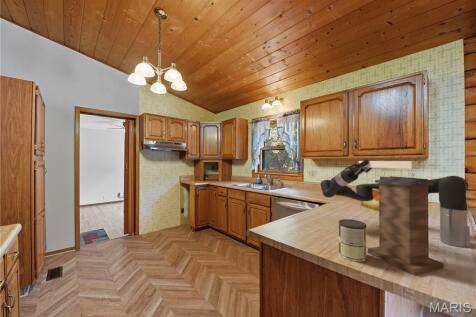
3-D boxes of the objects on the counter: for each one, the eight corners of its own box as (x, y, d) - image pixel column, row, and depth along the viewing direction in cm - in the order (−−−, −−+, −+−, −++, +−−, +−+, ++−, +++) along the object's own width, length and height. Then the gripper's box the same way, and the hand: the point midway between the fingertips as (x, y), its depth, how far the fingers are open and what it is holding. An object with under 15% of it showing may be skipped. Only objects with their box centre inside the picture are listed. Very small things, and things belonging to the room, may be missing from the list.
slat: (358, 167, 101) (358, 160, 101) (364, 167, 102) (364, 161, 102) (411, 169, 78) (411, 161, 78) (418, 169, 79) (418, 161, 79)
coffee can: (334, 250, 91) (334, 219, 91) (356, 250, 91) (356, 219, 92) (347, 262, 81) (347, 226, 81) (372, 261, 81) (372, 226, 81)
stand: (367, 252, 89) (367, 176, 89) (394, 248, 94) (394, 175, 94) (413, 274, 72) (412, 180, 72) (443, 268, 76) (443, 179, 77)
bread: (396, 212, 162) (396, 193, 162) (381, 212, 161) (381, 193, 161) (373, 205, 187) (373, 189, 187) (360, 205, 186) (360, 189, 186)
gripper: (359, 183, 110) (386, 168, 96) (338, 183, 106) (363, 168, 92) (353, 170, 114) (379, 154, 100) (333, 170, 110) (356, 154, 96)
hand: (371, 161), depth 96 cm, fingers closed on slat, 3 cm apart
